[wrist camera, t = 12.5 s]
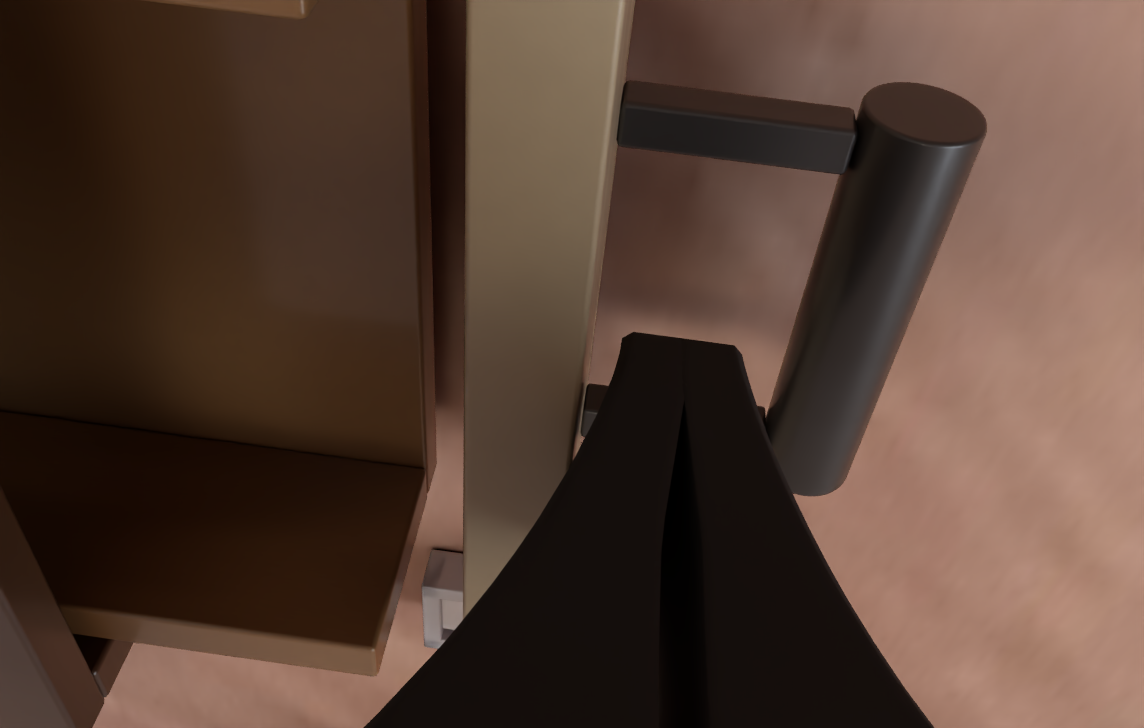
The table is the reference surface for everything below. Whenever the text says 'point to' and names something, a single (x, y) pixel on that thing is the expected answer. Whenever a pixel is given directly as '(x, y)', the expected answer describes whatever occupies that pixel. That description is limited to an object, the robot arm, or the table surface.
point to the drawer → (368, 293)
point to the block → (442, 596)
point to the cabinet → (45, 646)
